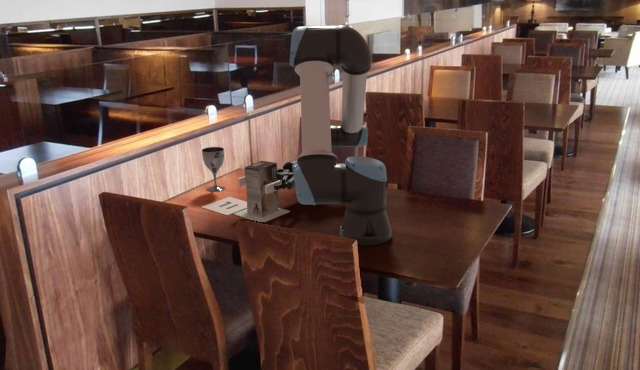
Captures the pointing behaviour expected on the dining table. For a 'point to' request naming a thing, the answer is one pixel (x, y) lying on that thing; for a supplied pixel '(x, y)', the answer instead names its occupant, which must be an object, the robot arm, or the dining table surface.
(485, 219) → the dining table surface
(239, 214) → the set down mat
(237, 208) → the tile
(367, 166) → the robot arm
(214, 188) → the wine glass
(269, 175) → the coffee box
